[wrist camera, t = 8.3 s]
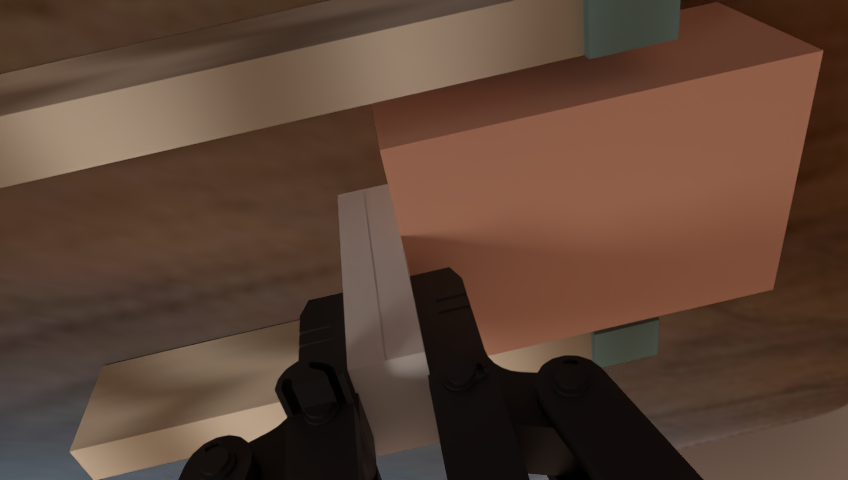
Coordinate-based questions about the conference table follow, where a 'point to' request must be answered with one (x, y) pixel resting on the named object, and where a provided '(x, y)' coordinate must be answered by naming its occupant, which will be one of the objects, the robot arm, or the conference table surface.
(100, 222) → the conference table surface
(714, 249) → the block
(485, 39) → the tan piece
